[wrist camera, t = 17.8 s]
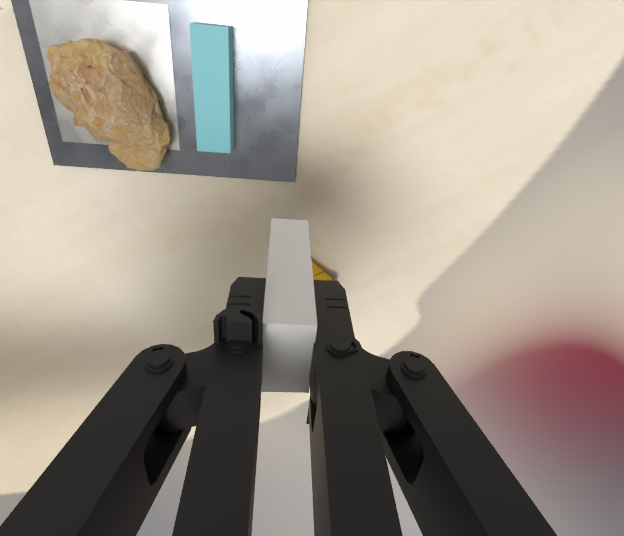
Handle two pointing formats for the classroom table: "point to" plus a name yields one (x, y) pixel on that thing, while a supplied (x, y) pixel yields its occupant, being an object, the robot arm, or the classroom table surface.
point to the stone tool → (110, 100)
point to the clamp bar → (213, 86)
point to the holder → (180, 77)
